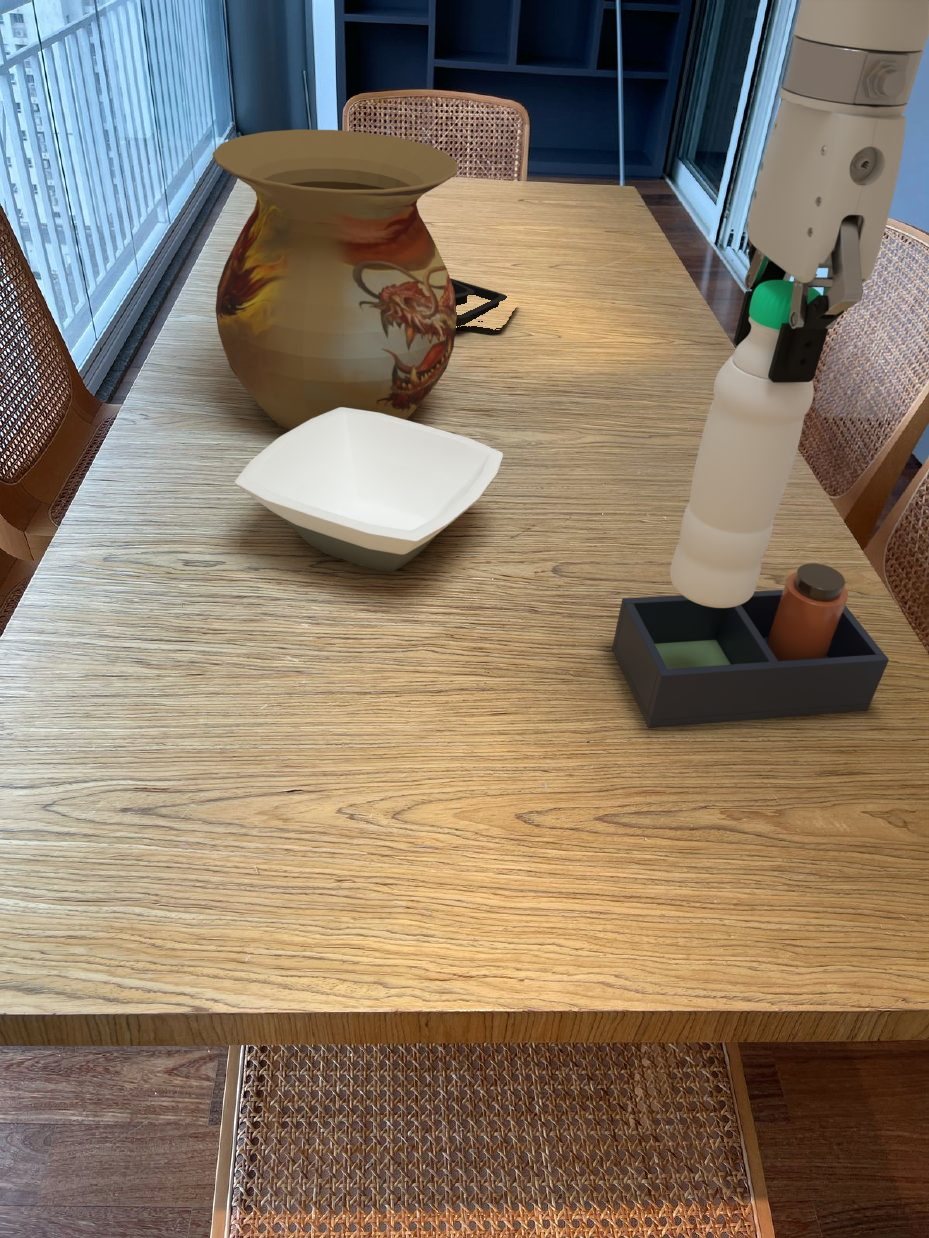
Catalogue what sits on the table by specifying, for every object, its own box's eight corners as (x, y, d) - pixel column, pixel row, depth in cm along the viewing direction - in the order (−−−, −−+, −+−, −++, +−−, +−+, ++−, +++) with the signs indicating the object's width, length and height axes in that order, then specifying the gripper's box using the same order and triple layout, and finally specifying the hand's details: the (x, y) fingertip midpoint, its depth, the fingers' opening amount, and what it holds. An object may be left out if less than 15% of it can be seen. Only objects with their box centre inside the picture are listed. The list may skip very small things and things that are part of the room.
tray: (520, 298, 166) (523, 266, 162) (516, 352, 147) (519, 318, 144) (340, 281, 166) (340, 249, 163) (313, 333, 148) (312, 298, 144)
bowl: (334, 465, 117) (333, 398, 111) (514, 520, 110) (522, 451, 105) (219, 555, 100) (212, 481, 95) (422, 627, 93) (426, 551, 88)
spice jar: (802, 648, 93) (834, 557, 87) (828, 685, 89) (864, 592, 83) (750, 652, 92) (779, 560, 86) (774, 689, 88) (806, 596, 82)
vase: (441, 471, 117) (458, 204, 99) (196, 448, 117) (169, 178, 99) (457, 371, 140) (474, 140, 122) (253, 353, 140) (239, 119, 122)
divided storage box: (611, 650, 93) (622, 598, 89) (813, 637, 96) (831, 586, 93) (648, 729, 84) (662, 675, 81) (867, 711, 88) (889, 659, 85)
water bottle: (669, 556, 86) (737, 265, 71) (752, 570, 86) (838, 278, 70) (666, 603, 81) (739, 297, 66) (754, 618, 80) (849, 312, 65)
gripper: (986, 109, 54) (879, 416, 65) (838, 56, 68) (769, 318, 79) (861, 104, 53) (773, 418, 64) (734, 51, 66) (679, 318, 77)
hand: (772, 360), depth 71 cm, fingers closed on water bottle, 5 cm apart
